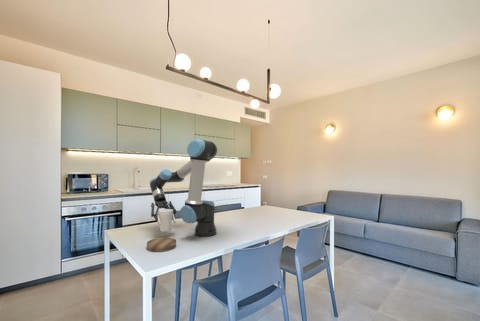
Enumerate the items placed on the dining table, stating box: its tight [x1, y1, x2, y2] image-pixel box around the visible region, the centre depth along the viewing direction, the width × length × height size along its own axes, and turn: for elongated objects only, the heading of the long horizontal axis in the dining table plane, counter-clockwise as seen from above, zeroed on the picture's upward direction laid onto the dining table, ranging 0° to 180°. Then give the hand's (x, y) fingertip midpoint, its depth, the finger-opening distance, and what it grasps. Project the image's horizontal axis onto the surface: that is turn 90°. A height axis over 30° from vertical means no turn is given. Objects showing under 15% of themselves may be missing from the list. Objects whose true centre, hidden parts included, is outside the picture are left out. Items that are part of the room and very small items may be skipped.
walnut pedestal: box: [146, 236, 177, 253], centre depth 129 cm, size 16×16×3 cm
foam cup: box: [157, 208, 173, 232], centre depth 148 cm, size 10×9×13 cm
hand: (167, 223), depth 146 cm, fingers closed on foam cup, 9 cm apart
